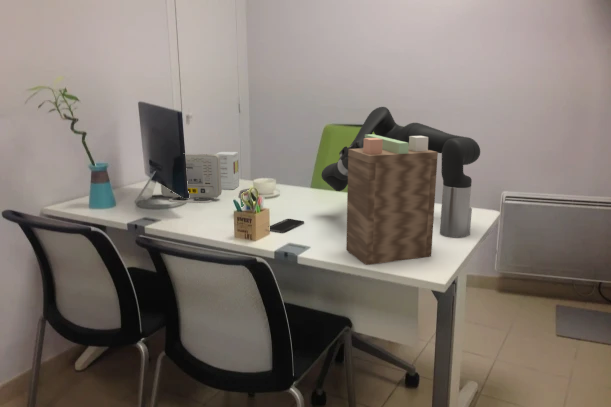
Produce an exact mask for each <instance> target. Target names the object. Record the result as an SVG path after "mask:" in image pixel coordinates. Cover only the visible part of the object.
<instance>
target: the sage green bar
mask: <svg viewBox="0 0 611 407" xmlns="http://www.w3.org/2000/svg"><path fill="white" fill-rule="evenodd" d="M365 138H379V139H383V145H382V149H383V150H387V151H390V152H394V153H397V154H407V153H408V148H409V143H407V142H403V141H399V140H395V139H390V138H386V137H382V136H378V135H375V133H374V134H373V133H372V134H368V135H365Z"/></svg>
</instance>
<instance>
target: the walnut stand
mask: <svg viewBox="0 0 611 407" xmlns="http://www.w3.org/2000/svg"><path fill="white" fill-rule="evenodd" d="M438 154H439V153H438V152H436V151H432V150H428V151H412V150H409V148H408V153H407V154H397V153H394V152H390V151H387V150H383V149H382V153H381V154H368V153H364V152H363V148H359V149H348V184H347V194H346V195H347V199H346V200H347V202H346V203H347V205H346V239H345V240H346V244H345V245H346V247H345V248H346V249H345V250H346V251H347V252H348V253H349V254H350V255H352V256H353V257H354V258H356V259H357V260H359V261H360V262H361V263H363V264H364V265H365V266H369V265H376V264H385V263H392V262H398V261H399V262H401V261H406V260H412V259H415V260H416V259H420V258H421V259H422V258H429V257H432V252H433V251H432V250H433V249H432V248H433V233H434V219H435V218H434V217H435V204H436V203H435V202H436V185H437V170H438Z"/></svg>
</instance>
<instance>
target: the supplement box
mask: <svg viewBox="0 0 611 407" xmlns="http://www.w3.org/2000/svg"><path fill="white" fill-rule="evenodd" d="M216 154H217V155H219V156H220V165H221V190H229V189H234V190H235V189H237V188H238V187H240V170H239V169H240V167H239V166H240V162H239V152H238V151H219V152H217V153H216ZM236 187H237V188H236Z"/></svg>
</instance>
